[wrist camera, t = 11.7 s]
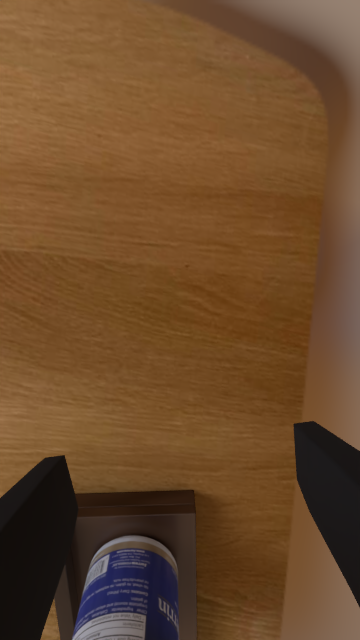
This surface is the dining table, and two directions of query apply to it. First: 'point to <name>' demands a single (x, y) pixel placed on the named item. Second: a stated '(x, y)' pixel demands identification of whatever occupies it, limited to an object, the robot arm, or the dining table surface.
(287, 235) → the dining table surface
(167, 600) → the pill bottle
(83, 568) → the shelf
